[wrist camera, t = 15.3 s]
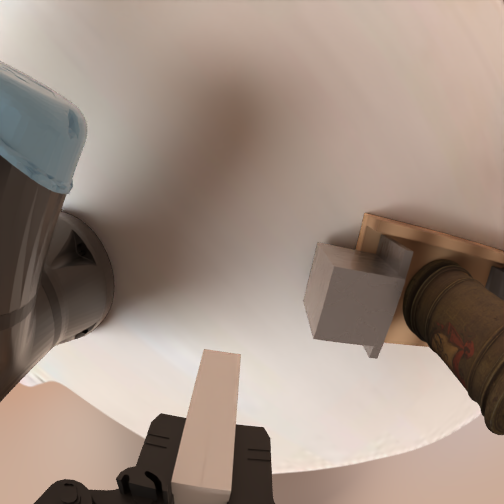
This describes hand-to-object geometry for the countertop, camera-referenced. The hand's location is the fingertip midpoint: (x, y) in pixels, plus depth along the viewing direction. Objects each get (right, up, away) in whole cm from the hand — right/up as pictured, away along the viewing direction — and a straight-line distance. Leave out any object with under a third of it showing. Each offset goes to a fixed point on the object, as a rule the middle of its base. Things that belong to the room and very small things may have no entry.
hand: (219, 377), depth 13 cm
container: (+22, 0, +19) cm, 28 cm away
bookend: (+10, +3, +18) cm, 21 cm away
